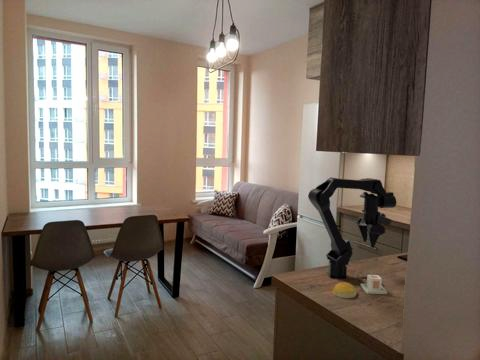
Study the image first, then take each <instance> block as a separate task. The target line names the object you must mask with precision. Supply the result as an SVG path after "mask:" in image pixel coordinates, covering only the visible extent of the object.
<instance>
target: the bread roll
mask: <svg viewBox="0 0 480 360" xmlns="http://www.w3.org/2000/svg"><path fill="white" fill-rule="evenodd" d="M332 294H333V295H335V296H337V297H338V298H341V299H354V298H356V296H357V289H356V288H355V286H354V285H353V284H351V283H349V282H345V281H341V282H338V283H336V284H335V285H334V288H332Z"/></svg>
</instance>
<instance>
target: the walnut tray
mask: <svg viewBox="0 0 480 360" xmlns="http://www.w3.org/2000/svg"><path fill="white" fill-rule="evenodd" d="M357 279H358V280H359V281H360V283H362V284H367V275H358V276H357ZM383 285H384V284H383V282H382V284H381V286H382V287H383Z"/></svg>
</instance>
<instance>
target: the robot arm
mask: <svg viewBox="0 0 480 360" xmlns="http://www.w3.org/2000/svg"><path fill="white" fill-rule="evenodd" d="M337 189H350V190H360V191H364V192H363V193H361V194H360V195H359V197H360V198H362V199H364V202H363V209H361V213H363V214H362V215H363V216H358V217H356V219H355V224H356V226H357V228H358V231H359V233H360V236H361V238H362V241H363V243H365V242H367V241H368V242H369V244H370V248H372V249H374V248H375V246H376V244H377V241H378V240H379V237H380V236H381V235H384V234H386V227H388V228H389V227H390V225H391V223H392V221H393V220H392V219H391V218H389V217H387V216H386V214H385V213H383V212H380V210H379V208H380V209H393V208H395V207H396V205H397V203H398V202H397V201H398V200H397V199H396V196H395V194H394V192H391V191H386V190H385V188H384V186H383V183H382V181H381V179H377V178H371V177H370V178H369V177H367V178H360V179H349V178H338V177H337V178H336V177H329V178H327V179H326V180H325V181H323V182H322V183H321V184H318V185H317V186H316V187H315V188H312V189H311V190H310V191H309V193H308V195H307V197H308V200H309V201H310V203H311V205H312V206H313V207H314V208H315V209H316V210H317V212H318V213H319V216H320V218H321V220H322V223H323V225H324V227H325V229H326V232H327V234H328V236H329V238H330V247H331V249H330V250H329V251H328V253H327V254H326V259H327V261H328V272H326V274H327V275H328V277H329V279H332V280H333V279H335V280H337V279H338V280H339V279H340V280H346V279H347V272H348V267H347V266H348V265H349V262H350V260H351V258H352V256H353V250H354V248H353V247H352V244H351V242H350V240H348V239H346V238H344V237H343V236H342V234H341V231H340V229H339V227H338V225H337V222H336V220H335V218H334V215H333V213H332V211H331V199H330V198H331V197H332V196H333V195H334V194H335V192H336V190H337ZM385 226H386V227H385Z"/></svg>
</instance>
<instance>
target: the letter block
mask: <svg viewBox="0 0 480 360" xmlns="http://www.w3.org/2000/svg"><path fill="white" fill-rule="evenodd" d="M366 276H367V288H368V290H369V291H381V284H382V283H383V281H382V280H383V279H382V277H380V275H378V274H367V275H366Z"/></svg>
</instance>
